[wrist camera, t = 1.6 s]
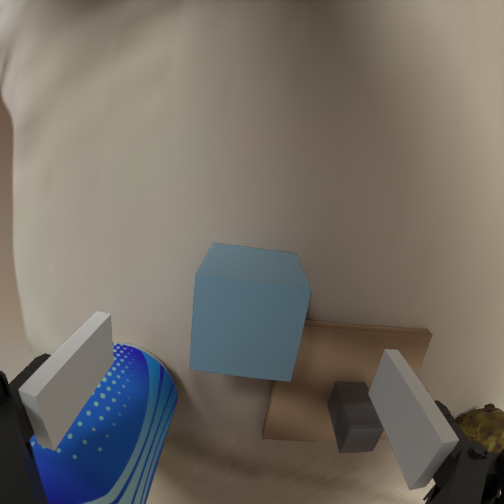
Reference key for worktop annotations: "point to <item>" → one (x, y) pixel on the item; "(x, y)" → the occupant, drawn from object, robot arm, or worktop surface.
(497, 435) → the brown oval lump
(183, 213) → the worktop surface
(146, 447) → the beer can
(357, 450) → the tan square panel
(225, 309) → the light blue chamfered box
